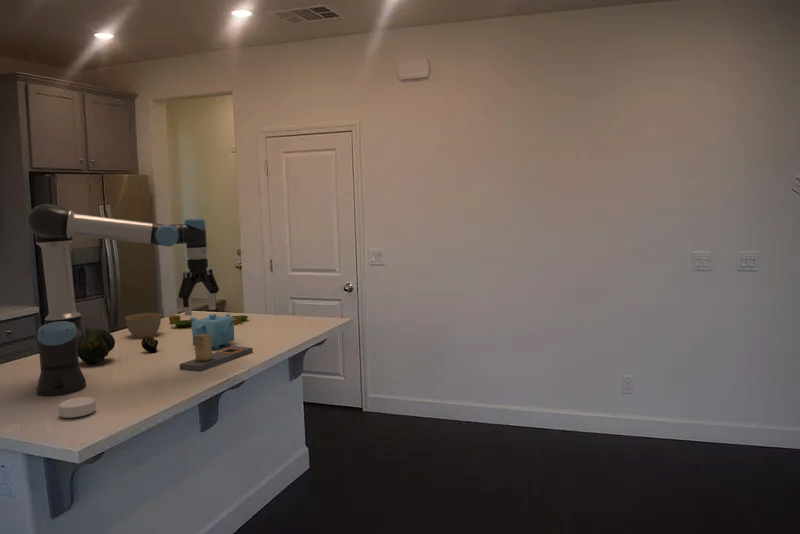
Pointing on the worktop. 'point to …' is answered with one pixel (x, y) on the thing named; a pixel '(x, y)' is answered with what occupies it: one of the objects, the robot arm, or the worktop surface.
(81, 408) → the white round disc
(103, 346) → the squash
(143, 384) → the worktop surface
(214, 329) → the teakettle
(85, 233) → the robot arm
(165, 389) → the worktop surface
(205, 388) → the worktop surface
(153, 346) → the tape measure
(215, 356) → the dark grey flat board
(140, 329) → the planter bowl
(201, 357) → the wooden peg
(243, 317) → the tableware set
